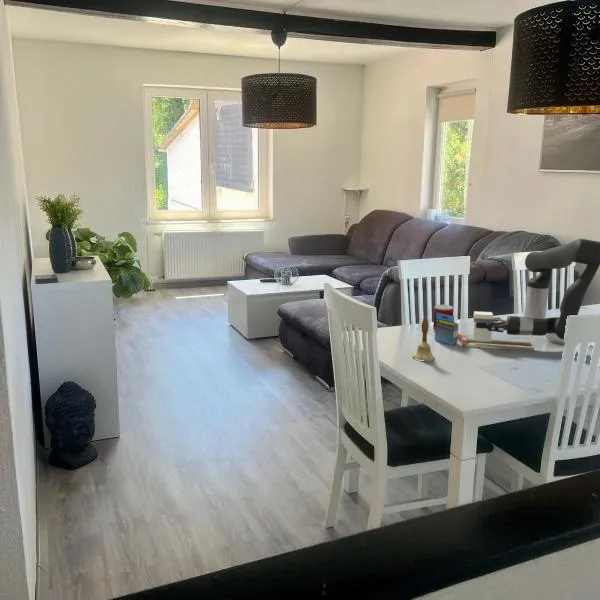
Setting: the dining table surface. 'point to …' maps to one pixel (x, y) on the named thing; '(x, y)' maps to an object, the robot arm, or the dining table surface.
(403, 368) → the dining table surface
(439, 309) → the canned food
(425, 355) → the hand bell
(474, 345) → the wooden rail channel
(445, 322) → the label tape cartridge
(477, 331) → the block
